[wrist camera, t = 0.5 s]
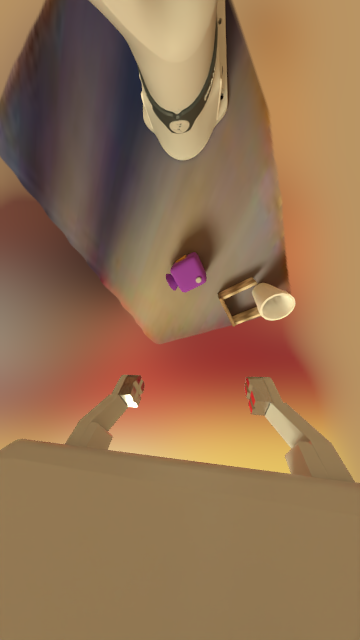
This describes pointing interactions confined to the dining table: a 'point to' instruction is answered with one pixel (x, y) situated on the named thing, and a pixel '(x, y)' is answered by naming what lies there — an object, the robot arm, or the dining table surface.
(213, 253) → the dining table surface
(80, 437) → the robot arm
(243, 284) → the cup holder
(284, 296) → the foam cup
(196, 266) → the toy camera
